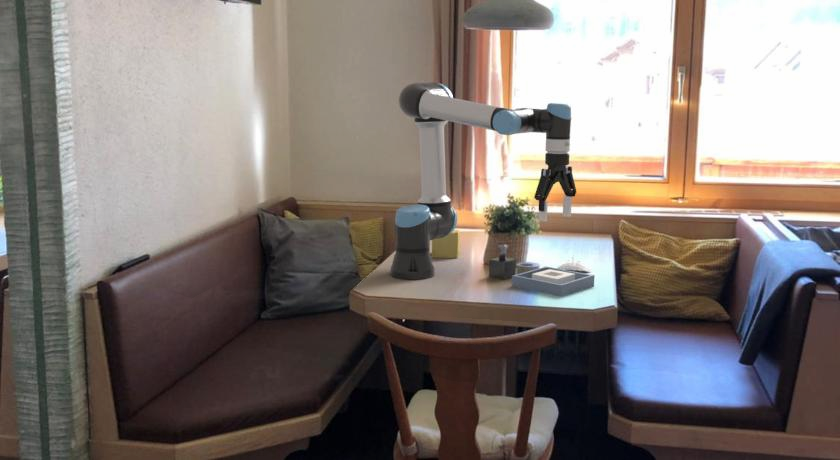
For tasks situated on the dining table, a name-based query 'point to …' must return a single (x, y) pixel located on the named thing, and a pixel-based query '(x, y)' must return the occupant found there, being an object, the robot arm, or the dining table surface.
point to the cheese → (446, 246)
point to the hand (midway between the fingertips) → (554, 218)
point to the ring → (554, 276)
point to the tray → (563, 289)
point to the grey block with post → (502, 265)
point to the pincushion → (573, 266)
